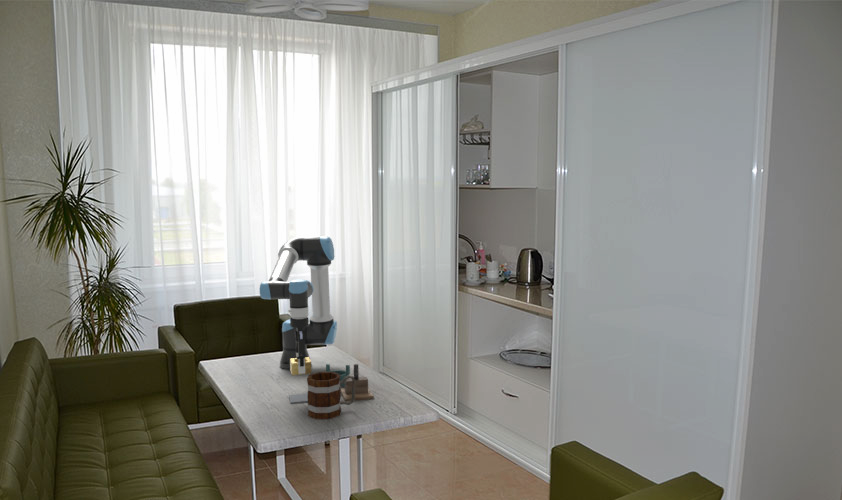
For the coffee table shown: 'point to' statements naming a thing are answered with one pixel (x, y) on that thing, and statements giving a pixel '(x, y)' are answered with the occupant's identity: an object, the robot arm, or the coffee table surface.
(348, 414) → the coffee table surface
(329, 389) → the mug
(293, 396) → the felt mat
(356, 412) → the coffee table surface
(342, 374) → the bracket
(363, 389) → the post stand
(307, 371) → the hollow wooden square frame
